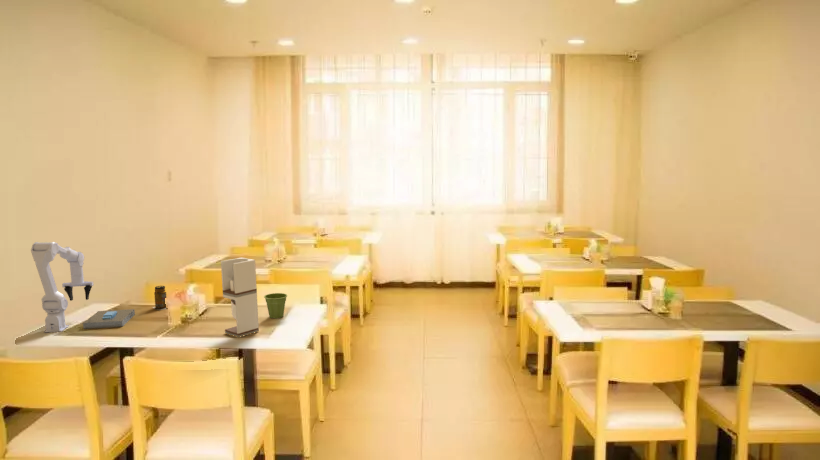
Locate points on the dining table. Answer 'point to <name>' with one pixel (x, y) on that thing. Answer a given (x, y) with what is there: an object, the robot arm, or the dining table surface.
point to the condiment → (160, 298)
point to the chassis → (116, 321)
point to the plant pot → (275, 304)
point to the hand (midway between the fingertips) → (79, 299)
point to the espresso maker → (241, 294)
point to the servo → (109, 315)
